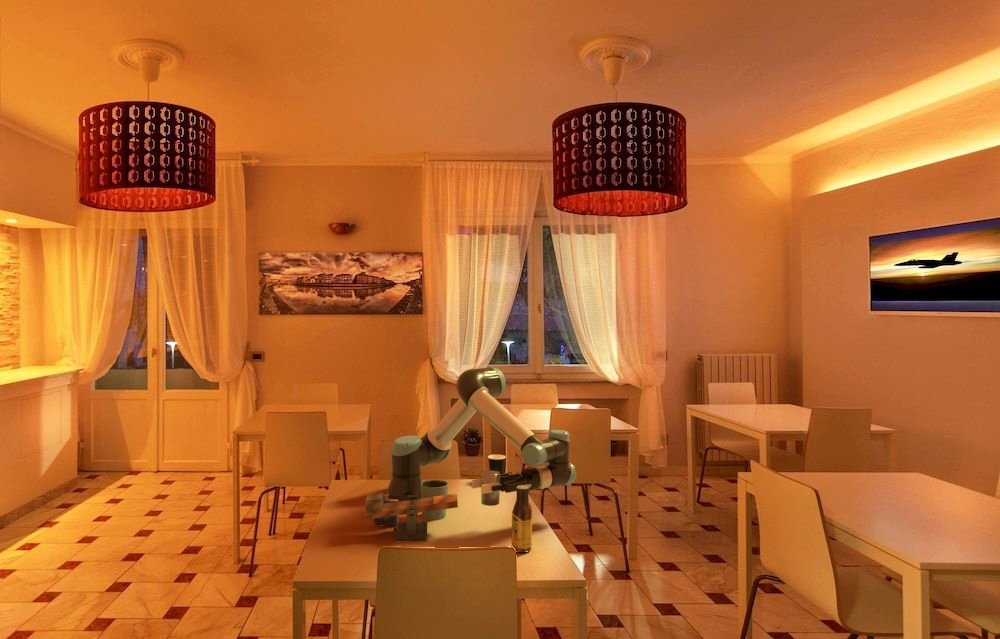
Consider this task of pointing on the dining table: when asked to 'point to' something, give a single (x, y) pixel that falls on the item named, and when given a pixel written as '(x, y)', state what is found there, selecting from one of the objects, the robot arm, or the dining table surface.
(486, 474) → the glass jar
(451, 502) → the beam
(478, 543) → the dining table surface
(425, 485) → the grey cylindrical container
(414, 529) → the beam stand
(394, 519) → the flask
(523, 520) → the sauce bottle
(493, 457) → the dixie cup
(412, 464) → the robot arm
